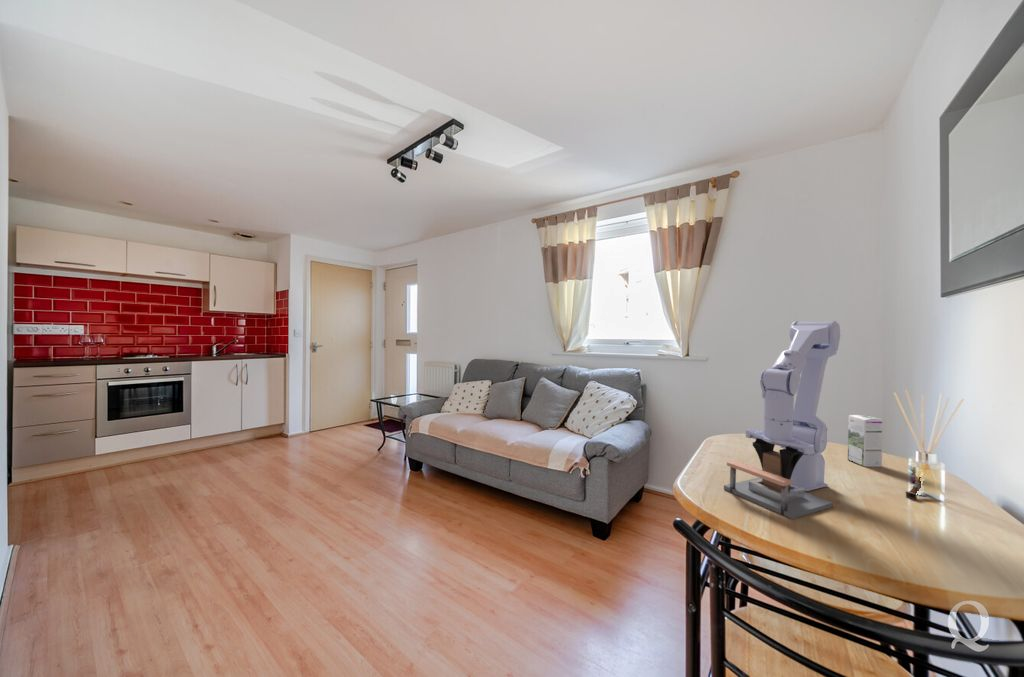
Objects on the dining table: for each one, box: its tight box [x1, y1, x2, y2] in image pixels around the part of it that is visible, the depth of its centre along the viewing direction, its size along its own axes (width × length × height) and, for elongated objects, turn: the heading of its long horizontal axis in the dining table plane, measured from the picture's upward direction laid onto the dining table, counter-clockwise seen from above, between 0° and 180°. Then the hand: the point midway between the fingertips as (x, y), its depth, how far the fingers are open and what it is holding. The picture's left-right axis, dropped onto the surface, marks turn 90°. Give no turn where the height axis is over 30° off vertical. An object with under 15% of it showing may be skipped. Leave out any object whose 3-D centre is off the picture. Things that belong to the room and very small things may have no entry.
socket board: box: [723, 460, 834, 520], centre depth 90 cm, size 16×16×8 cm
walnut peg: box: [761, 450, 790, 492], centre depth 90 cm, size 4×4×8 cm
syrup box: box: [847, 414, 884, 468], centre depth 114 cm, size 6×6×14 cm
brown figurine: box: [905, 476, 921, 501], centre depth 92 cm, size 2×8×4 cm, turn 118°
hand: (776, 475), depth 90 cm, fingers closed on walnut peg, 4 cm apart
